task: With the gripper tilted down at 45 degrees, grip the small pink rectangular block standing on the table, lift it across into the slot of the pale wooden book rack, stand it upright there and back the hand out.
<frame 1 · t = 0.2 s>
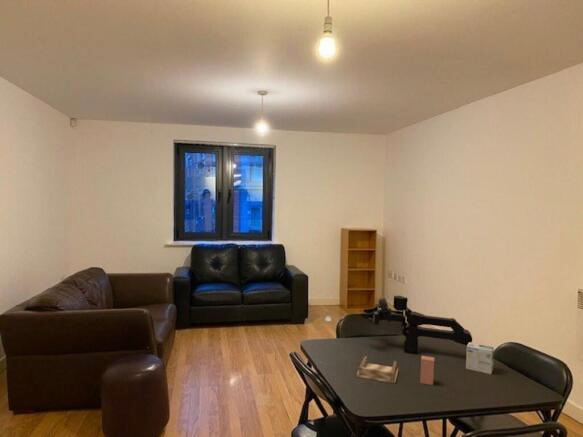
hand: (362, 312, 209), 17 cm above the table, tool horizontal, fingers open, 9 cm apart
light bulb box: (479, 369, 182), on the table
book rack: (377, 373, 173), on the table
pink rectangular block: (426, 381, 166), on the table
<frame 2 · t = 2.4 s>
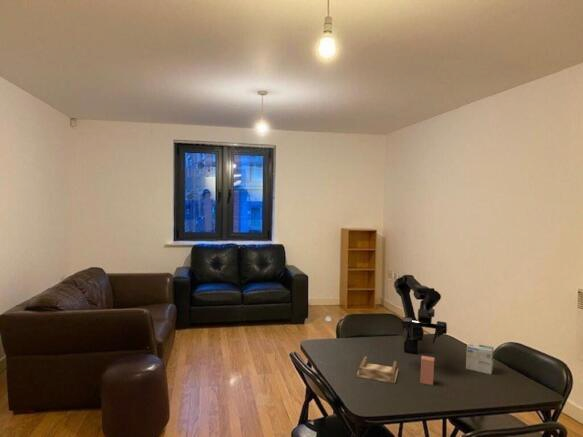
hand: (422, 342, 174), 14 cm above the table, tool tilted 45°, fingers open, 9 cm apart
nothing on the table moved.
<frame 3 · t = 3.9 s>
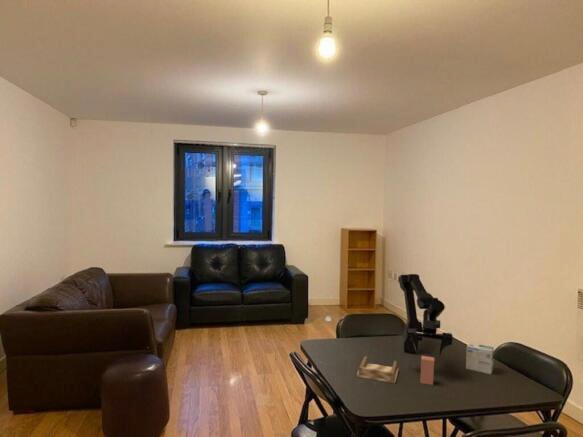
hand: (428, 354, 169), 10 cm above the table, tool tilted 45°, fingers open, 9 cm apart
nothing on the table moved.
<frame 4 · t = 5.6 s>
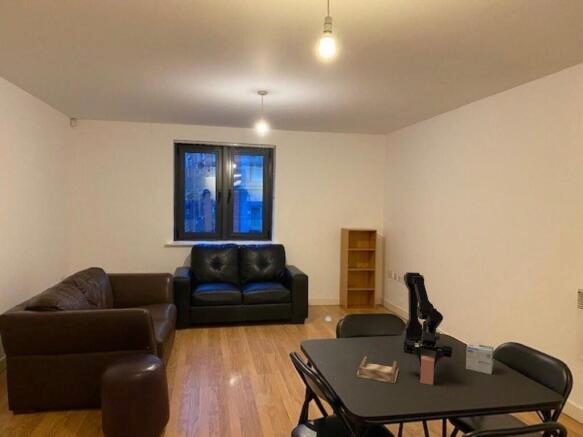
hand: (427, 367, 165), 7 cm above the table, tool tilted 45°, fingers closed on pink rectangular block, 5 cm apart
pink rectangular block: (426, 381, 166), on the table, touching gripper
everything else where it was.
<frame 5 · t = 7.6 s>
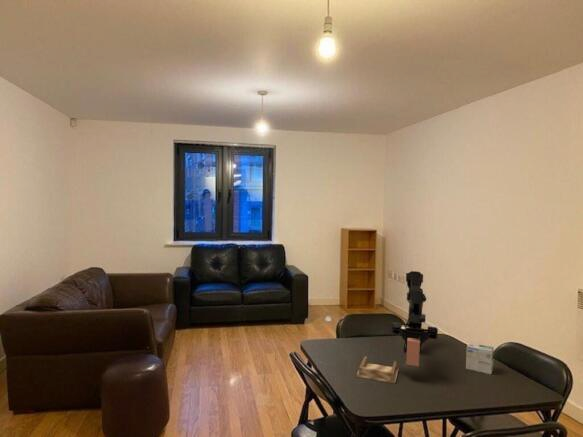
hand: (413, 349, 167), 13 cm above the table, tool tilted 45°, fingers closed on pink rectangular block, 5 cm apart
pink rectangular block: (412, 363, 168), point 7 cm above the table, touching gripper
everything else where it was.
when the fingers open (9 cm above the table, at t = 9.8 s): pink rectangular block drops 1 cm, resting on book rack.
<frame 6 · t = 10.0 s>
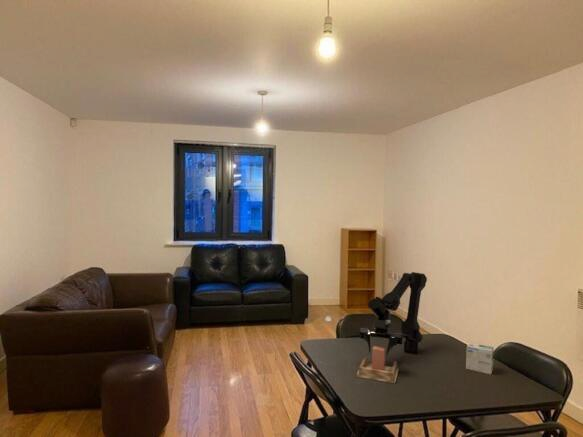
hand: (378, 353, 172), 9 cm above the table, tool tilted 45°, fingers open, 7 cm apart
pink rectangular block: (378, 371, 173), point 1 cm above the table, touching book rack
everything else where it was.
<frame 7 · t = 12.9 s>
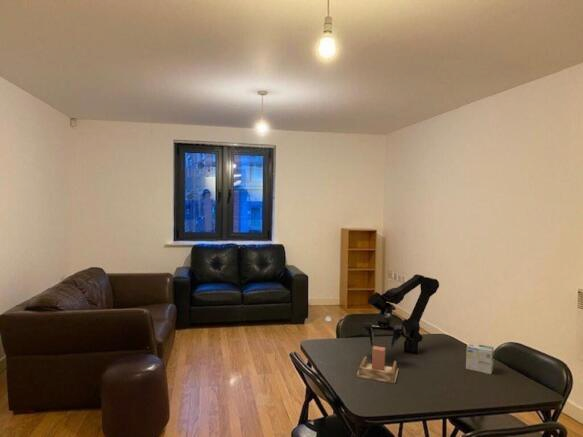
hand: (381, 346, 181), 9 cm above the table, tool tilted 40°, fingers open, 9 cm apart
nothing on the table moved.
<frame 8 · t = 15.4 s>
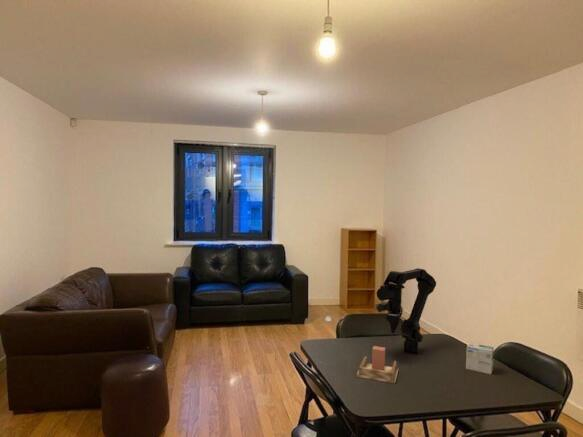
hand: (393, 330, 192), 13 cm above the table, tool pointing down, fingers open, 9 cm apart
nothing on the table moved.
at the end: pink rectangular block inside the target area on the book rack (0.0 cm from its centre), point 1.0 cm above the book rack's base; pink rectangular block tilted 0°; the gripper is holding nothing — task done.
